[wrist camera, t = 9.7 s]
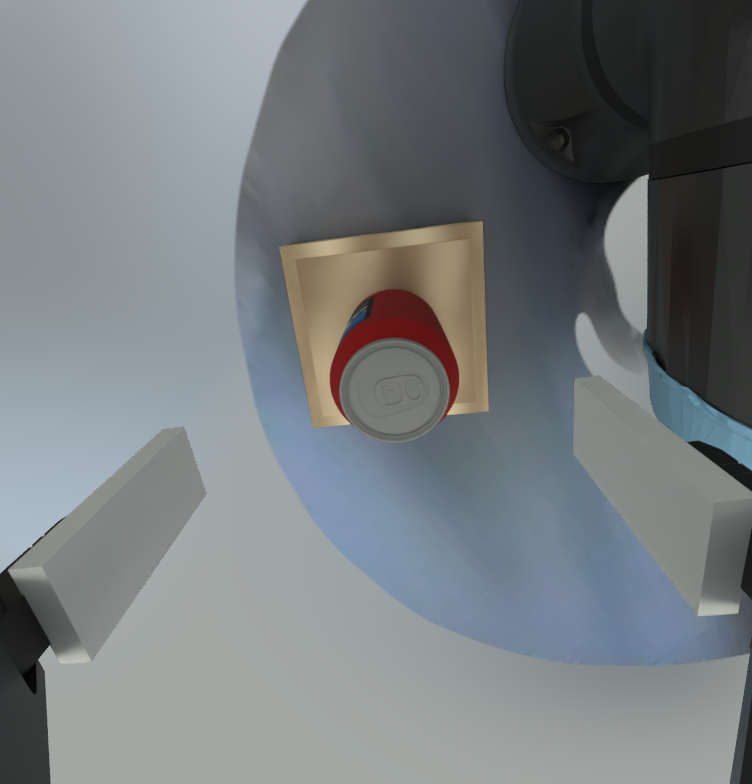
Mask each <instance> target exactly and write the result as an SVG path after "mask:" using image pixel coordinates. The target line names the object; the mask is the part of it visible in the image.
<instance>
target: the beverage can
mask: <svg viewBox="0 0 752 784" xmlns="http://www.w3.org/2000/svg"><path fill="white" fill-rule="evenodd" d="M458 388H459V369H458V364H457V361H456V358H455V355H454V353H453V350H452V348H451V346H450V343H449V341H448V339H447V337H446V334H445V332H444V330H443V328H442V326H441V324H440V322H439V320H438V318H437V316H436V314H435V313H434V311H433V309H432V308H431V307H430V306H429V304H428V303H427V302H426V301H424V300H423V299H422V298H421V297H419V296H417V295H415V294H413V293H411V292H408V291H404V290H397V289H391V290H384V291H380V292H377V293H375V294H373V295H371V296H369V297H367V298H366V299H365V300H363V301H362V302H361V303H360V304H359V305H358V306H357V308H356V309H355V310H354V312H353V314H352V316H351V318H350V320H349V322H348V324H347V326H346V328H345V331H344V333H343V335H342V338H341V340H340V342H339V345H338V347H337V350H336V353H335V355H334V358H333V361H332V364H331V369H330V389H331V393H332V397H333V400H334V402H335V404H336V406H337V408H338V410H339V411H340V413H341V414H342V415H343V417H344V418H345V419H346V420H347V421H348V422H349V423H350V424H351V425H353V426H354V427H355V428H356V429H358V430H359V431H360V432H361V433H363V434H365V435H366V436H368V437H370V438H373V439H375V440H378V441H383V442H389V443H399V442H406V441H410V440H414V439H416V438H419V437H421V436H423V435H424V434H426V433H427V432H429V431H430V430H431V429H433V428H434V427H435V426H436V425H437V424H439V423H440V422H441V421H442V420H443V419H444V417H445V416H446V415H447V414H448V412H449V411H450V409H451V408H452V406H453V404H454V402H455V399H456V396H457V393H458Z"/></svg>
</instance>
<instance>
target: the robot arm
mask: <svg viewBox="0 0 752 784" xmlns="http://www.w3.org/2000/svg"><path fill="white" fill-rule="evenodd" d="M504 83H505V93H506V99H507V104H508V108H509V112H510V115H511V118H512V121H513V123H514V126H515V128H516V130H517V132H518V134H519V136H520V137H521V139H522V141H523V142H524V144H525V145H526V147H527V148H528V149H529V150H530V152H531V153H532V154H533V155H534V156H535V157H536V158H537V159H538V160H539V161H540V162H541V163H543V164H544V165H545V166H547V167H548V168H549V169H551V170H553V171H554V172H556V173H558V174H560V175H562V176H565V177H567V178H570V179H573V180H577V181H582V182H588V183H609V182H616V181H622V180H627V179H633V178H637V177H641V176H644V175H647V174H649V180H648V294H647V296H648V297H647V299H648V301H647V302H648V303H647V304H648V305H647V308H648V309H647V310H648V313H647V329H646V330H645V331H644V335H643V350H644V353H645V356H646V359H647V361H648V372H649V385H650V399H651V405H652V407H653V410H654V413H655V415H656V417H657V419H658V420H657V419H656V418H654V417H653V416H652V415H650V414H649V413H648V412H646V411H645V410H644V409H642V408H641V407H640V406H639V405H637V404H636V403H635V402H633V401H632V400H631V399H629V398H628V397H627V396H625V395H624V394H623V393H621V392H620V391H619V390H618V389H616V388H615V387H614V386H612V385H611V384H610V383H608V382H607V381H606V380H604V379H603V378H602V377H600V376H593V377H585V378H576V379H575V387H574V455H575V457H576V458H577V459H578V461H579V462H580V463H581V464H582V466H583V467H584V468H585V470H586V471H587V472H588V474H589V475H590V476H591V478H592V479H593V480H594V482H595V483H596V484H597V485H598V487H599V488H600V489H601V491H602V492H603V493H604V495H605V496H606V497H607V499H608V500H609V501H610V502H611V504H612V505H613V506H614V508H615V509H616V510H617V512H618V513H619V514H620V516H621V517H622V518H623V519H624V521H625V522H626V523H627V525H628V526H629V527H630V529H631V530H632V531H633V533H634V534H635V535H636V536H637V538H638V539H639V540H640V542H641V543H642V544H643V546H644V547H645V548H646V550H647V551H648V552H649V553H650V555H651V556H652V557H653V559H654V560H655V561H656V563H657V564H658V565H659V567H660V568H661V569H662V570H663V572H664V573H665V574H666V576H667V577H668V578H669V580H670V581H671V582H672V584H673V585H674V586H675V587H676V589H677V590H678V591H679V593H680V594H681V595H682V597H683V598H684V599H685V601H686V602H687V603H688V604H689V606H690V607H691V608H692V610H693V611H694V612H695V614H696V615H697V616H710V615H723V614H736V613H738V610H739V605H740V600H741V594H742V590H743V591H744V592H745V593H746V594H747V595H748V596H749V597H750V598H751V599H752V0H520V2H519V5H518V7H517V10H516V12H515V15H514V18H513V21H512V24H511V28H510V31H509V35H508V40H507V45H506V52H505V63H504ZM205 495H206V491H205V488H204V485H203V482H202V479H201V476H200V473H199V470H198V467H197V464H196V461H195V458H194V455H193V452H192V449H191V447H190V443H189V440H188V437H187V434H186V431H185V428H184V427H177V428H167V429H162V430H161V431H160V432H159V433H158V434H157V435H156V436H155V437H154V438H153V439H152V440H150V441H149V442H148V443H147V444H146V445H145V446H144V447H143V448H141V450H139V451H138V452H137V453H136V454H135V455H134V456H133V457H132V458H130V460H128V461H127V462H126V463H125V464H124V465H123V466H122V467H121V468H119V469H118V470H117V471H116V472H115V473H114V474H113V475H112V476H111V477H110V478H108V479H107V480H106V481H105V482H104V483H103V484H102V485H101V486H100V487H99V488H97V489H96V490H95V491H94V492H93V493H92V494H91V495H90V496H89V497H88V498H86V499H85V500H84V501H83V502H82V503H81V504H80V505H79V506H78V507H76V508H75V509H74V510H73V511H72V512H71V513H70V514H69V515H67V516H66V517H64V518H63V519H61V520H60V521H58V522H57V523H56V524H55V525H54V526H53V527H52V528H50V529H49V530H48V531H47V532H46V533H45V535H44V536H42V537H40V538H39V539H38V540H37V541H36V542H35V543H34V544H33V545H32V547H31V548H28V549H27V550H26V551H25V552H24V553H23V554H22V555H20V557H18V558H17V559H16V560H15V561H14V562H13V563H12V564H10V565H9V566H8V567H7V568H6V569H5V570H4V571H3V572H2V573H1V574H0V784H50V766H49V748H48V729H47V709H46V691H45V675H44V674H45V672H44V670H43V668H42V666H41V664H40V662H39V661H38V659H39V658H40V656H41V655H42V654H43V653H44V651H45V650H46V649H47V648H48V646H49V645H50V646H51V648H52V649H53V651H54V653H55V655H56V656H57V658H58V660H59V662H60V664H65V663H78V662H91V661H92V660H93V659H94V657H95V656H96V654H97V653H98V651H99V650H100V649H101V647H102V646H103V644H104V643H105V641H106V640H107V638H108V637H109V635H110V634H111V633H112V631H113V629H114V628H115V627H116V625H117V624H118V622H119V621H120V619H121V618H122V616H123V615H124V613H125V612H126V610H127V609H128V608H129V606H130V605H131V603H132V602H133V600H134V599H135V597H136V596H137V594H138V593H139V592H140V590H141V589H142V587H143V586H144V584H145V583H146V581H147V580H148V578H149V577H150V576H151V574H152V573H153V571H154V570H155V568H156V567H157V565H158V564H159V562H160V561H161V559H162V558H163V557H164V555H165V554H166V552H167V550H168V549H169V548H170V546H171V545H172V543H173V542H174V540H175V539H176V537H177V536H178V535H179V533H180V532H181V530H182V529H183V527H184V526H185V524H186V523H187V521H188V520H189V518H190V517H191V516H192V514H193V512H194V511H195V510H196V508H197V507H198V505H199V504H200V502H201V501H202V499H203V498H204V497H205ZM750 648H751V652H750V658H749V664H748V671H747V678H746V684H745V690H744V696H743V702H742V709H741V715H740V722H739V728H738V734H737V741H736V747H735V754H734V760H733V766H732V773H731V779H730V784H752V639H751V643H750Z"/></svg>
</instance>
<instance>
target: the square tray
mask: <svg viewBox="0 0 752 784" xmlns="http://www.w3.org/2000/svg"><path fill="white" fill-rule="evenodd" d="M279 249H280V254H281V259H282V265H283V270H284V275H285V281H286V286H287V291H288V297H289V302H290V307H291V313H292V318H293V323H294V329H295V334H296V339H297V345H298V350H299V355H300V361H301V366H302V371H303V376H304V382H305V387H306V392H307V398H308V403H309V408H310V414H311V419H312V424H313V428H316V427H326V426H337V425H347V424H350V423H349V422H348V421H347V420H346V419H345V418H344V417H343V415H342V414H341V413H340V411H339V410H338V408H337V406H336V404H335V402H334V400H333V397H332V393H331V389H330V369H331V364H332V361H333V358H334V355H335V353H336V350H337V347H338V345H339V342H340V340H341V338H342V335H343V333H344V331H345V328H346V326H347V324H348V322H349V320H350V318H351V316H352V314H353V312H354V310H355V309H356V308H357V306H358V305H359V304H360V303H361V302H362V301H363V300H365V299H366V298H367V297H369V296H371V295H373V294H375V293H377V292H380V291H384V290H391V289H397V290H404V291H408V292H411V293H413V294H415V295H417V296H419V297H421V298H422V299H423V300H424V301H426V302H427V303H428V304H429V306H430V307H431V308H432V309H433V311H434V313H435V314H436V316H437V318H438V320H439V322H440V324H441V326H442V328H443V330H444V332H445V334H446V337H447V339H448V341H449V343H450V346H451V348H452V350H453V353H454V355H455V358H456V361H457V364H458V369H459V388H458V393H457V396H456V399H455V402H454V404H453V406H452V408H451V409H450V411H449V412H448V414H447V415H454V414H464V413H475V412H485V411H488V380H487V348H486V315H485V283H484V251H483V221H469V222H461V223H453V224H445V225H437V226H429V227H421V228H413V229H406V230H398V231H390V232H382V233H374V234H366V235H358V236H350V237H342V238H334V239H326V240H318V241H310V242H302V243H294V244H289V245H284V246H280V247H279Z"/></svg>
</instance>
